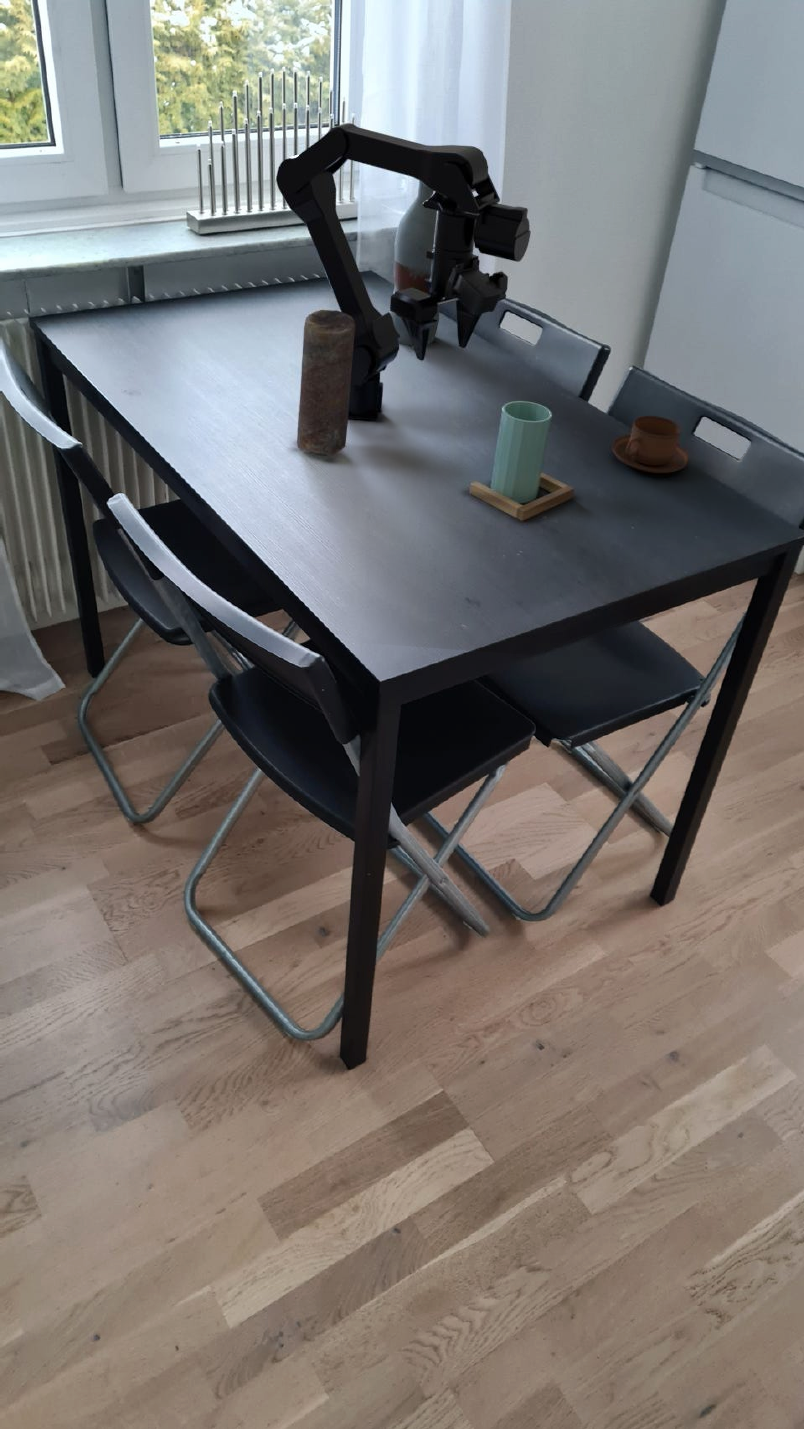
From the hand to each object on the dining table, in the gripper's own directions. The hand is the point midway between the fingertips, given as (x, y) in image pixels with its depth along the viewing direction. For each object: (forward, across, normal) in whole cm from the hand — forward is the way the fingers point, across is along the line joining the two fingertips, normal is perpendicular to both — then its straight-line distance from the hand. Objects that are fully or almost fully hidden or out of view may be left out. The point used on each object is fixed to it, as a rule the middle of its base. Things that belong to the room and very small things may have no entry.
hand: (441, 353), depth 168 cm
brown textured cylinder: (+13, -18, +6) cm, 23 cm away
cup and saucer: (+13, +21, -27) cm, 37 cm away
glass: (+13, -4, -21) cm, 25 cm away
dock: (+13, -4, -21) cm, 25 cm away
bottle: (+13, +27, +31) cm, 43 cm away
